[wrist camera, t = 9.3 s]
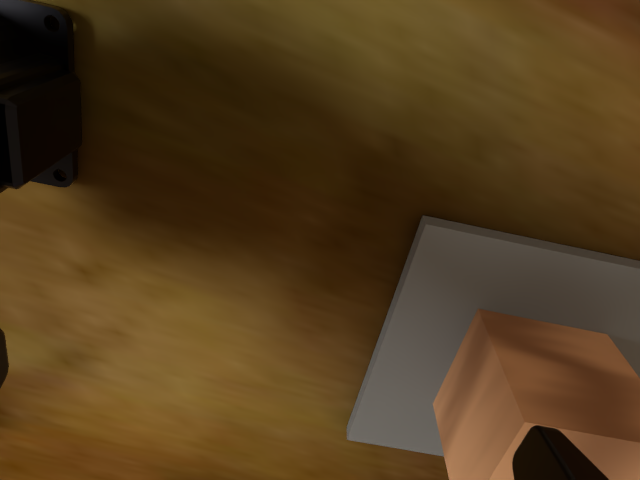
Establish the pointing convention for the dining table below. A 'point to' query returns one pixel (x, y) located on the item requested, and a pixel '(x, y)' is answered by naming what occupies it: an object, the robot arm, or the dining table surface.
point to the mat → (461, 306)
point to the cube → (536, 397)
